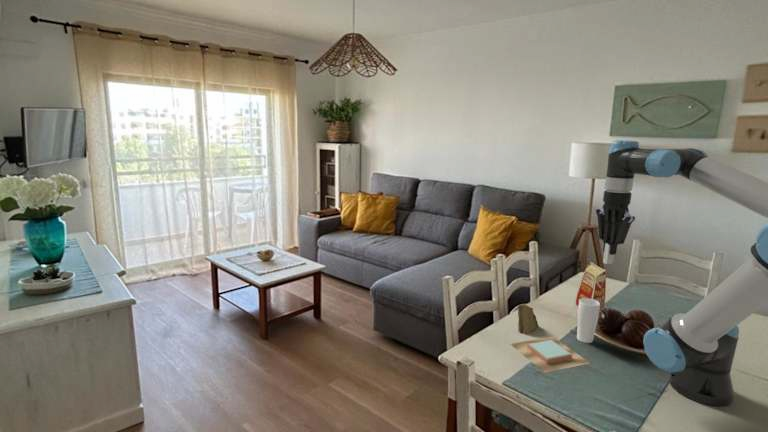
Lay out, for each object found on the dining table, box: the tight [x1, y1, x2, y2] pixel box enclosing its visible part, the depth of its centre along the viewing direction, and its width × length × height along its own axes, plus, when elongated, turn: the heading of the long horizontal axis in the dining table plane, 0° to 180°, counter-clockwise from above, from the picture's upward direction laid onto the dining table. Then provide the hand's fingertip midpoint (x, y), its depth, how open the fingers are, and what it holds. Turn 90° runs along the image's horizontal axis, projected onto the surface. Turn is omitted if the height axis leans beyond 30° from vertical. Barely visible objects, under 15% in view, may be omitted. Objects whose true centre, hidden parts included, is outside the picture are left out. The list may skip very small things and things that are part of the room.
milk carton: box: [573, 261, 607, 313], centre depth 174 cm, size 9×9×20 cm
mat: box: [510, 336, 591, 374], centre depth 140 cm, size 18×18×1 cm
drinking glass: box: [576, 298, 600, 344], centre depth 148 cm, size 7×7×15 cm
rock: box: [517, 304, 539, 335], centre depth 156 cm, size 11×9×10 cm
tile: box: [527, 340, 572, 364], centre depth 140 cm, size 2×10×10 cm
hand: (607, 262), depth 134 cm, fingers closed
